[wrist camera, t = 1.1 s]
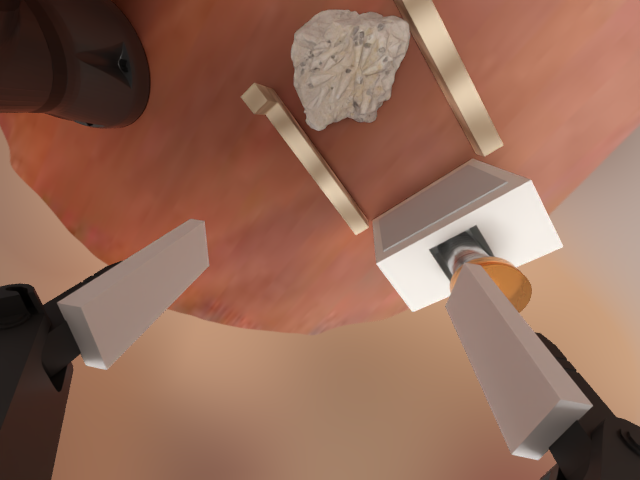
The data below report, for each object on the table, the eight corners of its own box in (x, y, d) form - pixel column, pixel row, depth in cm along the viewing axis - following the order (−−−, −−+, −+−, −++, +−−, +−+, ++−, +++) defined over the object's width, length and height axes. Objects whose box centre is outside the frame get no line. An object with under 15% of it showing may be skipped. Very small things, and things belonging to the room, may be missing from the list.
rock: (302, 126, 32) (290, 129, 27) (302, 16, 27) (288, -7, 22) (392, 130, 31) (397, 133, 26) (408, 14, 26) (419, -11, 21)
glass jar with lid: (420, 237, 26) (443, 287, 18) (467, 212, 24) (514, 255, 17) (442, 271, 27) (473, 331, 20) (489, 249, 25) (543, 306, 18)
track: (261, 100, 31) (240, 97, 26) (400, -40, 24) (410, -85, 19) (356, 228, 37) (355, 246, 31) (493, 143, 30) (521, 148, 24)
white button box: (371, 219, 36) (375, 262, 25) (471, 157, 31) (530, 178, 20) (398, 257, 38) (412, 312, 27) (497, 204, 32) (563, 246, 22)
